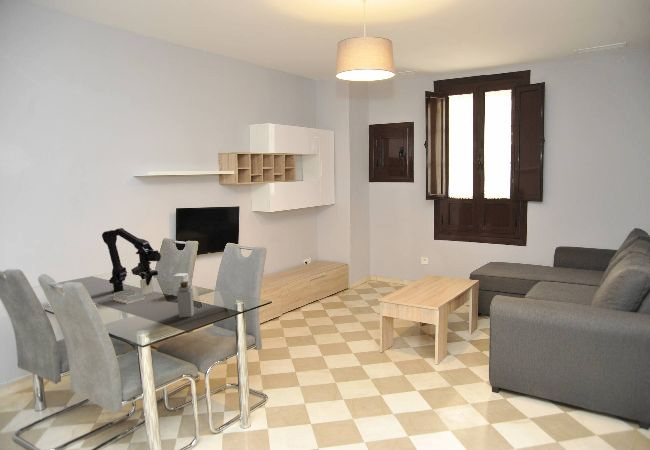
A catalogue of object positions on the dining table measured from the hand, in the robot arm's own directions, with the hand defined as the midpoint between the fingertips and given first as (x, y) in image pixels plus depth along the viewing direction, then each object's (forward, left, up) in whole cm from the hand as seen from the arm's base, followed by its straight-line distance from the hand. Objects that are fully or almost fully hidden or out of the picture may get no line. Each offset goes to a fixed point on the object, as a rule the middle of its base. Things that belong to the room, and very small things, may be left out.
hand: (146, 285), depth 311 cm
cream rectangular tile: (0, 0, -5) cm, 5 cm away
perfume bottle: (+58, -13, -5) cm, 60 cm away
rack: (+3, -14, -5) cm, 15 cm away
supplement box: (+22, +10, -5) cm, 25 cm away
